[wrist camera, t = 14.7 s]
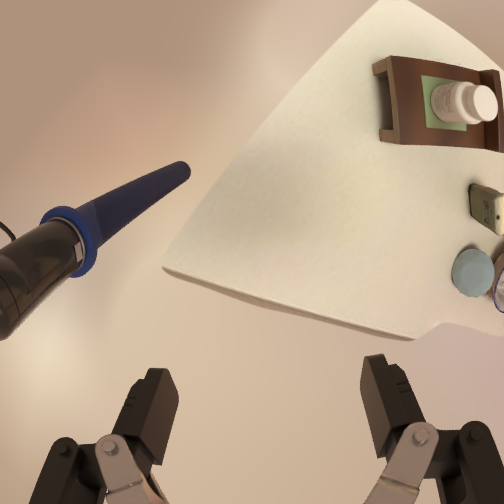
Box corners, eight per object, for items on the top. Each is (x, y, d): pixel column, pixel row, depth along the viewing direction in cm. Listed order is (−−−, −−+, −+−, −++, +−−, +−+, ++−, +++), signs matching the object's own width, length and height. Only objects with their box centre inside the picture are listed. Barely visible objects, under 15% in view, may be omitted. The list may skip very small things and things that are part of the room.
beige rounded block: (454, 197, 35) (487, 214, 28) (473, 173, 33) (508, 185, 26) (472, 223, 36) (502, 242, 29) (490, 199, 34) (522, 215, 27)
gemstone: (503, 261, 35) (503, 268, 32) (480, 298, 39) (477, 308, 36) (469, 235, 39) (465, 240, 36) (448, 273, 43) (442, 281, 40)
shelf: (380, 141, 33) (411, 146, 25) (372, 64, 29) (401, 49, 21) (465, 144, 32) (505, 153, 24) (459, 76, 28) (499, 71, 20)
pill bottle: (464, 103, 24) (506, 103, 17) (449, 130, 26) (491, 135, 19) (439, 77, 24) (479, 70, 17) (423, 104, 25) (463, 102, 18)
